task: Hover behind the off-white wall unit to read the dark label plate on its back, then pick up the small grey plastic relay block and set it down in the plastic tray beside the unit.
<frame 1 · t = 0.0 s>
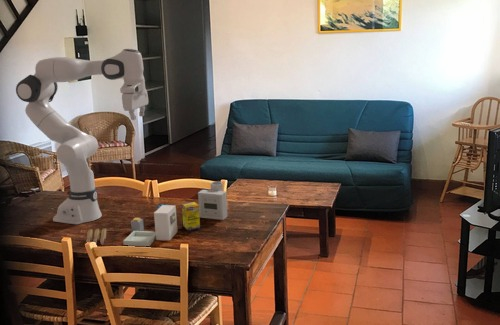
hand: (137, 118, 233), 48 cm above the table, tool pointing down, fingers open, 8 cm apart
wall unit: (167, 235, 224), on the table
tray: (141, 240, 220), on the table
gear: (168, 220, 243), on the table
supplement box: (191, 228, 232), on the table
relay block: (137, 231, 231), on the table
ammunition: (96, 242, 221), on the table
thermostat: (217, 214, 249), on the table
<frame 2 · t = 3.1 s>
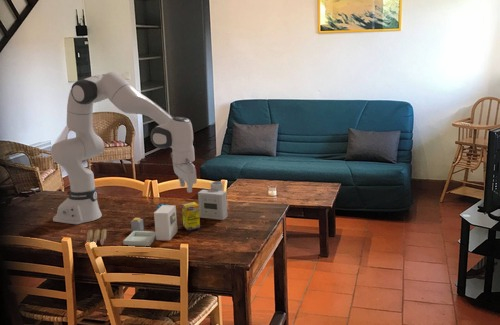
hand: (186, 189, 217), 21 cm above the table, tool pointing down, fingers open, 8 cm apart
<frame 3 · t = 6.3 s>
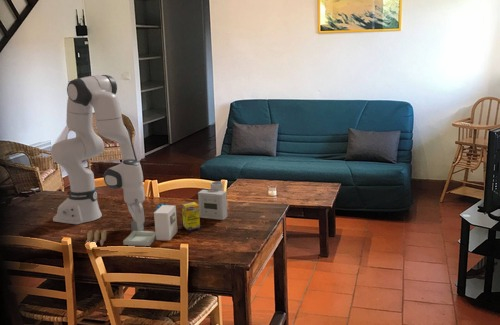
hand: (137, 226, 230), 2 cm above the table, tool pointing down, fingers open, 8 cm apart
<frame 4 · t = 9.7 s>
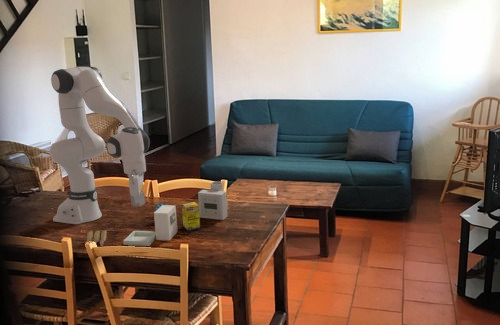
hand: (138, 200, 216), 18 cm above the table, tool pointing down, fingers closed on relay block, 5 cm apart
relay block: (138, 204, 216), point 16 cm above the table, touching gripper
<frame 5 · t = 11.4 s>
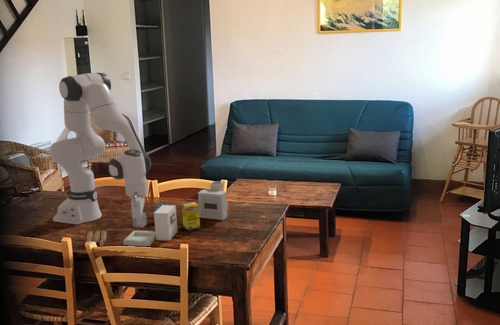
hand: (139, 221, 218), 9 cm above the table, tool pointing down, fingers closed on relay block, 5 cm apart
relay block: (140, 225, 218), point 7 cm above the table, touching gripper
when the fingers open (4 cm above the table, at t = 12.8 s): relay block drops 1 cm, resting on tray.
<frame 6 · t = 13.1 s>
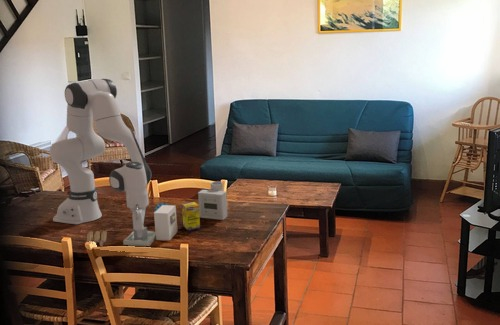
hand: (140, 232, 219), 4 cm above the table, tool pointing down, fingers open, 8 cm apart
relay block: (141, 239, 220), point 1 cm above the table, touching tray
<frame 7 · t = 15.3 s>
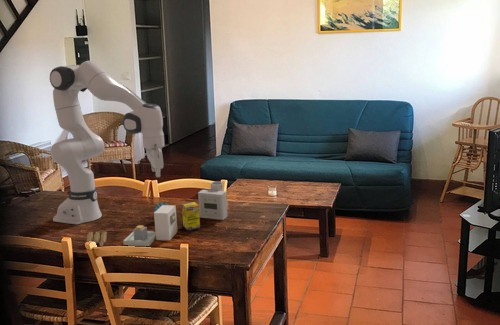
hand: (156, 174, 224), 26 cm above the table, tool pointing down, fingers open, 8 cm apart
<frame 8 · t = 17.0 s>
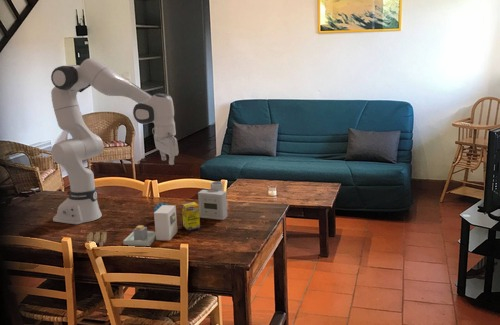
hand: (167, 162, 230), 29 cm above the table, tool pointing down, fingers open, 8 cm apart
at the end: relay block inside the target area on the tray (0.1 cm from its centre), point 0.6 cm above the tray's base; relay block tilted 0°; the gripper is holding nothing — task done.
